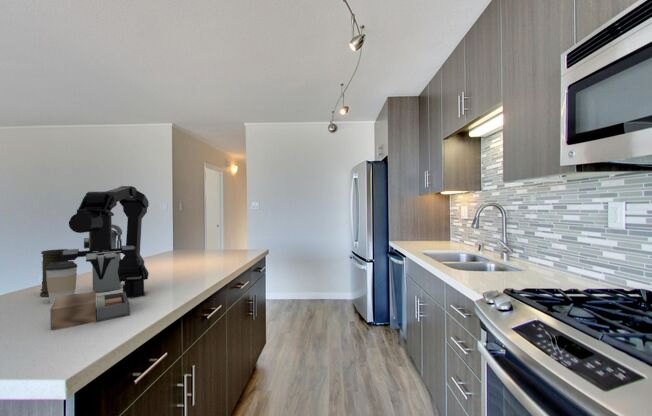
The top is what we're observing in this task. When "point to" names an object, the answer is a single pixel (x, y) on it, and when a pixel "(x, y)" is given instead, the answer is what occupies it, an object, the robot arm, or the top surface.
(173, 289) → the top surface
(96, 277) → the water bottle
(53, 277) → the coffee cup
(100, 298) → the sage tile
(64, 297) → the block
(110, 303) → the terracotta tile
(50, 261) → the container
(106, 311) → the box
